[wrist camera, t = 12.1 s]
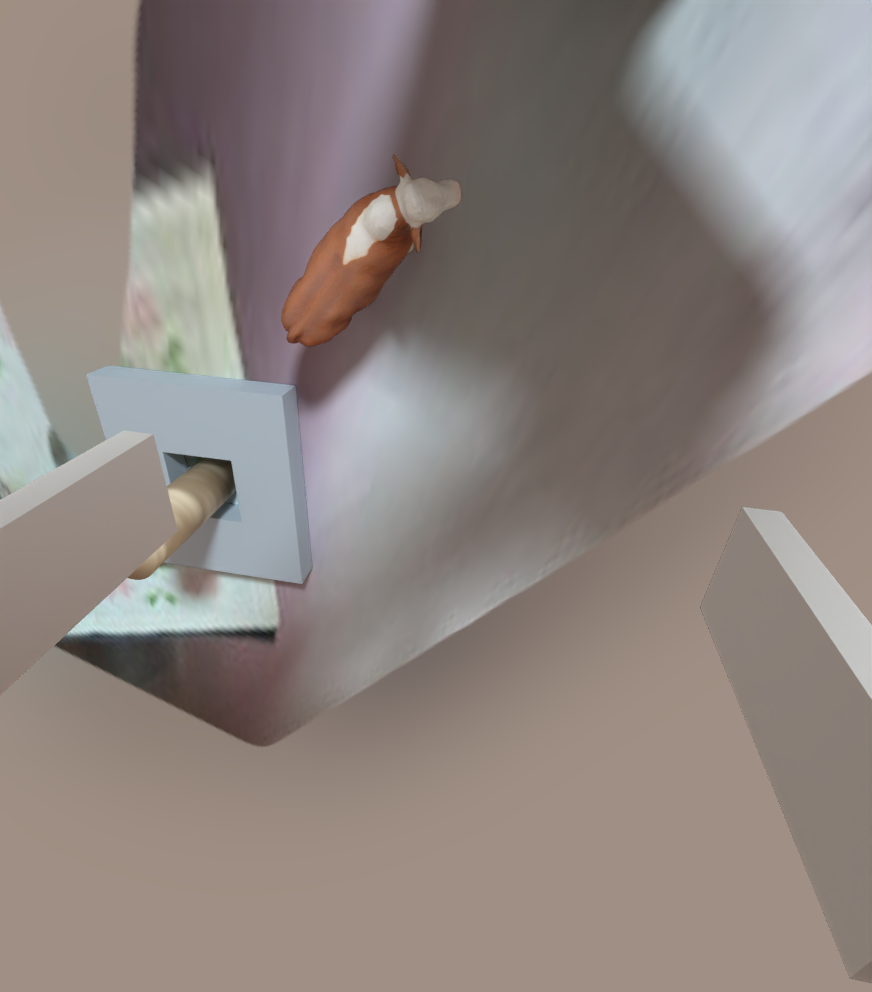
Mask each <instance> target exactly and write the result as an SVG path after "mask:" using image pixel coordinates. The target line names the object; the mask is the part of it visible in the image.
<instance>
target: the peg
mask: <svg viewBox="0 0 872 992" xmlns="http://www.w3.org/2000/svg"><path fill="white" fill-rule="evenodd" d="M167 490H168V494H169V498H170V502H171V506H172V510H173V514H174V518H175V522H176V526H177V530H178V531H177V532H176V533H175V534H174V535H173V536H172V537H170V538H169V539H168V540H167V541H166V542H165V543H164V544H163V545H162V546H161V547H160V548H159V549H158V550H156V551H155V552H154V553H153V554H152V555H151V556H150V557H149V558H148V559H147V560H146V561H145V562H144V563H142V564H141V565H140V566H139V567H138V568H137V569H136V570H135V571H134V572H133V573H132V574H131V575H130V576H128V577H127V578H130V579H135V580H141V579H145V578H147V577H149V576H150V575H151V574H152V573H153V572H154V571H155V570H156V569H157V568H158V567H159V566H160V565H161V564H162V563H163V562H165V561H166V560H167V559H168V558H169V557H170V556H171V555H172V554H173V553H174V552H175V551H176V550H177V549H178V548H179V547H180V546H181V545H182V544H183V543H184V542H185V541H186V540H187V539H188V538H189V537H190V536H191V535H192V534H193V533H194V532H195V531H196V530H197V529H198V528H199V527H200V526H201V525H202V524H203V523H204V522H205V521H206V520H207V519H208V518H209V517H210V516H212V515H213V514H214V513H215V512H216V511H217V510H218V509H219V508H220V507H221V506H222V505H223V504H224V503H225V502H226V501H227V500H228V499H229V498H230V497H231V496H232V495H233V494H234V493H235V492H236V486H235V481H234V475H233V469H232V465H231V464H230V463H229V462H227V461H226V460H222V459H214V458H206V457H204V458H203V459H201V460H200V461H199V462H197V463H196V464H195V465H194V466H192V467H191V468H190V469H188V470H187V471H186V472H185V473H183V474H182V475H181V476H179V477H178V478H177V479H176V480H174V481H173V482H172V483H171V484H169V485H168V486H167Z"/></svg>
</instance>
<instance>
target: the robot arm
mask: <svg viewBox="0 0 872 992" xmlns="http://www.w3.org/2000/svg"><path fill="white" fill-rule="evenodd" d="M177 531H178V530H177V526H176V522H175V518H174V514H173V510H172V506H171V502H170V498H169V494H168V490H167V486H166V482H165V478H164V474H163V470H162V466H161V462H160V458H159V454H158V450H157V446H156V442H155V438H154V434H149V433H140V432H132V431H122V432H120V433H118V434H117V435H115V436H113V437H111V438H110V439H108V440H106V441H104V442H102V443H101V444H99V445H97V446H95V447H94V448H92V449H90V450H88V451H86V452H85V453H83V454H81V455H79V456H78V457H76V458H74V459H72V460H70V461H69V462H67V463H65V464H63V465H62V466H60V467H58V468H56V469H54V470H53V471H51V472H49V473H47V474H46V475H44V476H42V477H40V478H38V479H37V480H35V481H33V482H31V483H30V484H28V485H26V486H24V487H22V488H21V489H19V490H17V491H15V492H14V493H12V494H10V495H8V496H6V497H5V498H3V499H1V500H0V695H1V694H2V693H3V692H5V691H6V690H7V689H8V688H9V687H10V686H11V685H12V684H13V683H14V682H15V681H16V680H18V679H19V678H20V677H21V675H23V674H24V673H25V672H26V671H27V670H28V669H29V668H30V667H31V666H33V665H34V664H35V663H36V662H37V661H38V660H39V659H40V658H41V657H42V656H43V655H44V654H46V653H47V652H48V651H49V650H50V649H51V648H52V647H53V646H54V645H55V644H56V643H57V642H58V641H60V640H61V639H62V638H63V637H64V636H65V635H66V634H67V633H68V632H69V631H70V630H71V629H72V628H74V627H75V626H76V625H77V624H78V623H79V622H80V621H81V620H82V619H83V618H84V617H85V616H86V615H88V614H89V613H90V612H91V611H92V610H93V609H94V608H95V607H96V606H97V605H98V604H99V603H100V602H102V601H103V600H104V599H105V598H106V597H107V596H108V595H109V594H110V593H111V592H112V591H113V590H114V589H116V588H117V587H118V586H119V585H120V584H121V583H122V582H123V581H124V580H125V579H126V578H127V577H128V576H130V575H131V574H132V573H133V572H134V571H135V570H136V569H137V568H138V567H139V566H140V565H141V564H142V563H144V562H145V561H146V560H147V559H148V558H149V557H150V556H151V555H152V554H153V553H154V552H155V551H156V550H158V549H159V548H160V547H161V546H162V545H163V544H164V543H165V542H166V541H167V540H168V539H169V538H170V537H172V536H173V535H174V534H175V533H176V532H177ZM700 609H701V611H702V614H703V616H704V619H705V621H706V624H707V626H708V629H709V631H710V634H711V636H712V638H713V641H714V643H715V646H716V648H717V651H718V653H719V655H720V658H721V661H722V663H723V665H724V668H725V670H726V673H727V676H728V678H729V681H730V683H731V686H732V688H733V690H734V693H735V695H736V698H737V700H738V703H739V705H740V708H741V710H742V713H743V715H744V718H745V720H746V723H747V725H748V728H749V730H750V732H751V735H752V738H753V740H754V743H755V745H756V747H757V750H758V752H759V755H760V757H761V760H762V762H763V765H764V767H765V769H766V772H767V775H768V777H769V780H770V782H771V785H772V787H773V789H774V792H775V795H776V797H777V799H778V802H779V804H780V807H781V809H782V812H783V814H784V817H785V819H786V822H787V824H788V827H789V829H790V832H791V834H792V837H793V839H794V842H795V844H796V847H797V849H798V851H799V854H800V856H801V859H802V861H803V864H804V866H805V869H806V871H807V874H808V876H809V879H810V881H811V884H812V886H813V889H814V891H815V894H816V896H817V899H818V901H819V903H820V906H821V909H822V911H823V913H824V916H825V918H826V921H827V923H828V926H829V928H830V931H831V933H832V935H833V938H834V941H835V943H836V946H837V948H838V951H839V953H840V955H841V958H842V961H843V963H844V965H845V968H846V970H847V973H848V975H849V978H851V979H855V980H859V981H864V982H869V983H872V625H871V624H870V623H869V621H868V620H867V619H866V618H865V616H864V615H863V614H862V613H861V611H860V610H859V609H858V608H857V606H856V605H855V604H854V603H853V601H852V600H851V599H850V597H849V596H848V595H847V594H846V592H845V591H844V590H843V589H842V587H841V586H840V585H839V583H838V582H837V581H836V580H835V578H834V577H833V576H832V575H831V573H830V572H829V571H828V570H827V568H826V567H825V566H824V565H823V563H822V562H821V561H820V559H819V558H818V557H817V556H816V554H815V553H814V552H813V551H812V549H811V548H810V547H809V545H808V544H807V543H806V542H805V540H804V539H803V538H802V537H801V535H800V534H799V533H798V532H797V531H796V529H795V528H794V526H793V525H792V524H791V523H790V521H789V520H788V519H787V518H786V516H785V515H784V514H783V512H781V511H772V510H764V509H756V508H748V507H742V508H741V511H740V513H739V515H738V518H737V520H736V523H735V525H734V527H733V530H732V532H731V534H730V537H729V539H728V542H727V544H726V546H725V549H724V551H723V554H722V556H721V558H720V561H719V563H718V566H717V568H716V570H715V572H714V575H713V577H712V580H711V582H710V584H709V587H708V589H707V592H706V594H705V596H704V599H703V601H702V603H701V606H700Z"/></svg>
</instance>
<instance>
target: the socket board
mask: <svg viewBox="0 0 872 992" xmlns="http://www.w3.org/2000/svg"><path fill="white" fill-rule="evenodd" d="M86 376H87V379H88V383H89V386H90V389H91V392H92V395H93V399H94V402H95V405H96V409H97V412H98V415H99V419H100V422H101V425H102V428H103V432H104V435H105V438H106V440H108V439H110V438H111V437H113V436H115V435H117V434H118V433H120V432H122V431H132V432H140V433H149V434H154V438H155V442H156V446H157V450H158V454H159V458H160V462H161V466H162V470H163V474H164V478H165V482H166V486H168V485H169V484H171V483H172V482H173V481H174V480H176V479H177V478H178V477H179V476H181V475H182V474H183V473H185V472H186V471H187V466H186V461H185V457H184V455H190V456H198V457H206V458H214V459H222V460H229V461H231V463H232V469H233V475H234V481H235V486H236V492H237V498H238V504H239V505H233V504H226V503H224V504H223V505H222V506H221V507H220V508H219V509H218V510H217V511H216V512H215V513H214V514H213V515H212V516H210V517H209V518H208V519H207V520H206V521H205V522H204V523H203V524H202V525H201V526H200V527H199V528H198V529H197V530H196V531H195V532H194V533H193V534H192V535H191V536H190V537H189V538H188V539H187V540H186V541H185V542H184V543H183V544H182V545H181V546H180V547H179V548H178V549H177V550H176V551H175V552H174V553H173V554H172V555H171V556H170V557H169V558H168V559H167V560H166V561H165V562H163V563H169V564H176V565H182V566H189V567H195V568H202V569H208V570H214V571H221V572H227V573H234V574H240V575H247V576H253V577H260V578H266V579H273V580H279V581H285V582H292V583H298V584H303V582H304V580H305V579H306V577H307V575H308V574H309V572H310V570H311V569H312V558H311V547H310V536H309V525H308V514H307V503H306V492H305V482H304V471H303V460H302V449H301V438H300V427H299V416H298V406H297V395H296V386H295V385H286V384H276V383H267V382H258V381H248V380H239V379H230V378H220V377H211V376H202V375H192V374H183V373H174V372H165V371H155V370H146V369H137V368H127V367H118V366H107V367H104V368H101V369H99V370H96V371H94V372H91V373H89V374H87V375H86Z"/></svg>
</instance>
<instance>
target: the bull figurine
mask: <svg viewBox="0 0 872 992" xmlns="http://www.w3.org/2000/svg"><path fill="white" fill-rule="evenodd" d="M393 159H394V161H395V165H396V170H397V173H398V175H399V177H400V183H399V185H398V186H392V187H389V188H385V189H382V190H380V191H378V192H376V193H371V194H368V195H366V196H365V197H363V198H361V199H360V200H358V201H357V202H356V203H354V204H353V205H352V206H351V207H350V208H349V210H348V211H347V212H346V213H345V215H344V216H343V217H342V218H341V219H340V220H339V221H338V222H337V223H335V224H334V225H333V226H332V227H331V229H330V230H329V231H328V232H327V234H326V235H325V236H324V238H323V239H322V240H321V241H320V242H319V243H318V245H317V246H316V248H315V249H314V251H313V253H312V255H311V257H310V260H309V262H308V264H307V268H306V271H305V273H304V276H303V277H301V278H299V279H298V280H297V281H296V283H295V284H294V285H293V287H292V289H291V291H290V293H289V295H288V298H287V300H286V302H285V305H284V307H283V310H282V316H281V321H282V324H283V326H284V328H285V329H286V331H288V334H287V341H288V342H289V343H298V342H300V343H301V344H303V345H305V346H309V347H312V346H316V345H319V344H322V343H325V342H327V341H329V340H331V339H332V338H333V337H334V336H335V335H337V334H338V333H339V332H341V331H342V330H344V329H345V328H346V327H347V326H348V325H349V323H350V321H351V319H352V315H353V314H355V313H356V312H358V311H360V310H362V309H364V308H365V307H367V306H368V305H369V304H370V303H372V302H373V301H374V300H375V298H376V297H377V296H378V294H379V292H380V291H381V289H382V287H383V285H384V283H385V282H386V281H387V280H388V278H389V277H390V276H391V274H392V273H393V271H394V270H395V269H396V267H397V266H398V265H399V264H400V263H401V262H402V260H403V259H404V258H405V256H406V255H407V253H408V252H411V251H412V250H414V248H415V247H416V252H417V253H419V252H420V249H421V233H422V225H423V224H424V223H429V222H432V221H433V220H435V219H436V218H437V217H438V216H439V215H440V214H441V213H442V212H443V211H444V210H446V209H451V208H454V207H456V206H457V205H458V204H459V203H460V201H461V190H460V186H459V183H458V182H456V181H455V180H454V179H446V180H441V181H439V182H434V181H432V180H429V179H426V178H424V177H420V178H417V179H412V178H411V176H410V174H409V172H408V170H407V168H406V167H405V166H404V165H403V163H402V162H401V161H400V160H399V159H398V158H397V156H396V155H395V154H394V153H393Z"/></svg>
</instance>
